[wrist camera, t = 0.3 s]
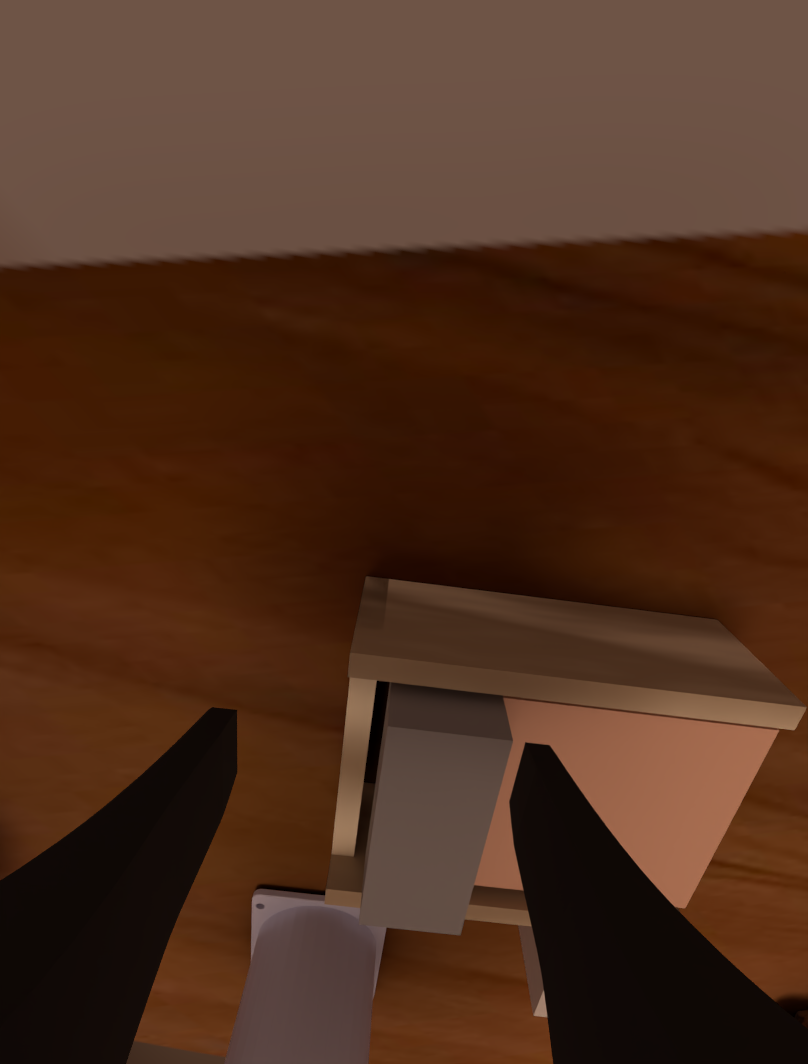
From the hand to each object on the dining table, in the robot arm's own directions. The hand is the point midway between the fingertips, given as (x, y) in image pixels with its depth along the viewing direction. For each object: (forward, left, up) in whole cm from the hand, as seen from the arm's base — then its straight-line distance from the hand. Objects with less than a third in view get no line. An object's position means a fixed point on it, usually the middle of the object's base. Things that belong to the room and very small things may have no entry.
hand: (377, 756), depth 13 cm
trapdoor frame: (-7, -7, -10) cm, 14 cm away
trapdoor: (-7, -7, -6) cm, 11 cm away
